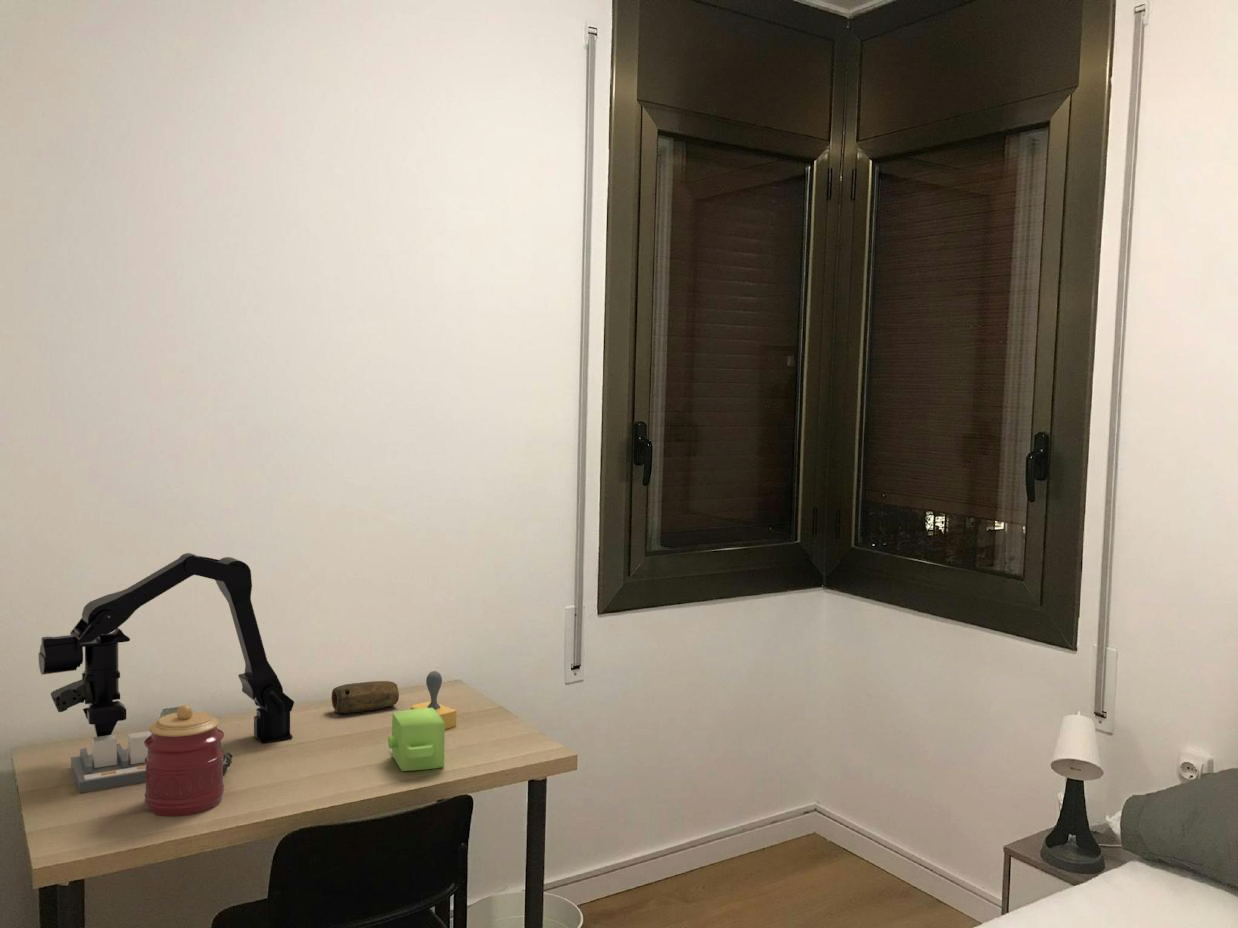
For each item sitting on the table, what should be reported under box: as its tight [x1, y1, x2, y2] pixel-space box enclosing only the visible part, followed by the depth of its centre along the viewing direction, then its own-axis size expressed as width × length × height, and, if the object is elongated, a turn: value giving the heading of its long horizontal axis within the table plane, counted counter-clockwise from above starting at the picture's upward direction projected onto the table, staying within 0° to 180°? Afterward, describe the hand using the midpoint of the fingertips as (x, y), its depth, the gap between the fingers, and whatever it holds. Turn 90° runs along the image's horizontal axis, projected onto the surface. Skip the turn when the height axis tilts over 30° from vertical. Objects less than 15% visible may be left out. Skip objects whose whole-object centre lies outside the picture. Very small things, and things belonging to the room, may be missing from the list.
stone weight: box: [331, 680, 400, 714], centre depth 237 cm, size 15×7×7 cm, turn 128°
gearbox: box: [387, 708, 446, 772], centre depth 204 cm, size 18×10×10 cm, turn 23°
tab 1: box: [91, 734, 118, 768], centre depth 193 cm, size 4×3×5 cm
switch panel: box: [70, 743, 146, 794], centre depth 194 cm, size 16×15×4 cm
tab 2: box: [127, 730, 152, 765], centre depth 195 cm, size 4×3×5 cm
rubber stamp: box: [410, 670, 457, 730], centre depth 228 cm, size 10×6×12 cm, turn 46°
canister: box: [144, 704, 225, 817], centre depth 180 cm, size 13×13×18 cm
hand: (102, 746), depth 195 cm, fingers closed
